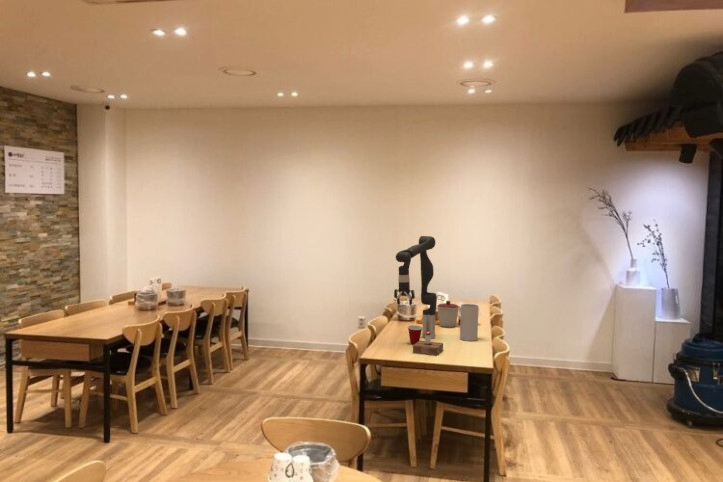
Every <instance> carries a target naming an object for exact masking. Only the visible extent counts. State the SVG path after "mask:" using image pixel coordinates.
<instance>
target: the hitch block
mask: <svg viewBox="0 0 723 482" xmlns="http://www.w3.org/2000/svg"><path fill="white" fill-rule="evenodd" d="M443 351H444V343H443V342H437V341H430V345H425V340H419V342H417V343H416V344H412V353H413V354H418V355H419V354H420V355H428V356H435V357H438V356H439V354H441V353H442V352H443Z"/></svg>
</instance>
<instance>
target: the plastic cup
mask: <svg viewBox="0 0 723 482" xmlns="http://www.w3.org/2000/svg"><path fill="white" fill-rule="evenodd" d="M407 329H408V335H409V342H410V344H411V345H414V344H416V343H417V342H419V341H421V340H420V339H421V336H422V335H421V334H422V329H423V326H421V325H416V324H413V325H412V324H411V325H407Z"/></svg>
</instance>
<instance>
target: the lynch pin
mask: <svg viewBox="0 0 723 482" xmlns="http://www.w3.org/2000/svg"><path fill="white" fill-rule="evenodd" d="M430 338H431V331H425V338H424V341H425V345H430V342H431V339H430Z"/></svg>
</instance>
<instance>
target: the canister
mask: <svg viewBox="0 0 723 482" xmlns="http://www.w3.org/2000/svg"><path fill="white" fill-rule="evenodd" d="M436 308H437V316H438V317H437V318H438V324H439V326H440V327H442V328H455V327H456V326H457V322H458V317H459V315H458V314H459V309H460V306H459V305H457V304H455V303H451V301H450V300H446V302H445V303H443V302H442V303H439V304H438V305H437V304H436Z"/></svg>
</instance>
